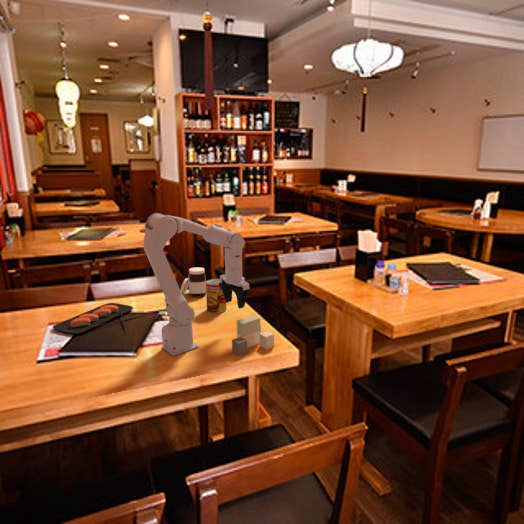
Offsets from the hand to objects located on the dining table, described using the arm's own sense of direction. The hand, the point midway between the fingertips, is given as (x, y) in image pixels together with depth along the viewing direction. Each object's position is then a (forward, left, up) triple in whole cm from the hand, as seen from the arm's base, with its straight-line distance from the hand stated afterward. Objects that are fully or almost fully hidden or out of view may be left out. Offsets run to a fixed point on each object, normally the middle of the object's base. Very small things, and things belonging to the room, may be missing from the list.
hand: (234, 304), depth 143 cm
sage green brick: (-2, -10, -6) cm, 12 cm away
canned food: (+7, +23, -11) cm, 26 cm away
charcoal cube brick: (-8, -14, -10) cm, 19 cm away
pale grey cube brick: (+2, -16, -10) cm, 19 cm away
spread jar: (+10, +47, -11) cm, 49 cm away
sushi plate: (-31, +38, -11) cm, 50 cm away
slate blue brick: (+4, -5, -11) cm, 12 cm away
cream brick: (-2, -11, -10) cm, 15 cm away
